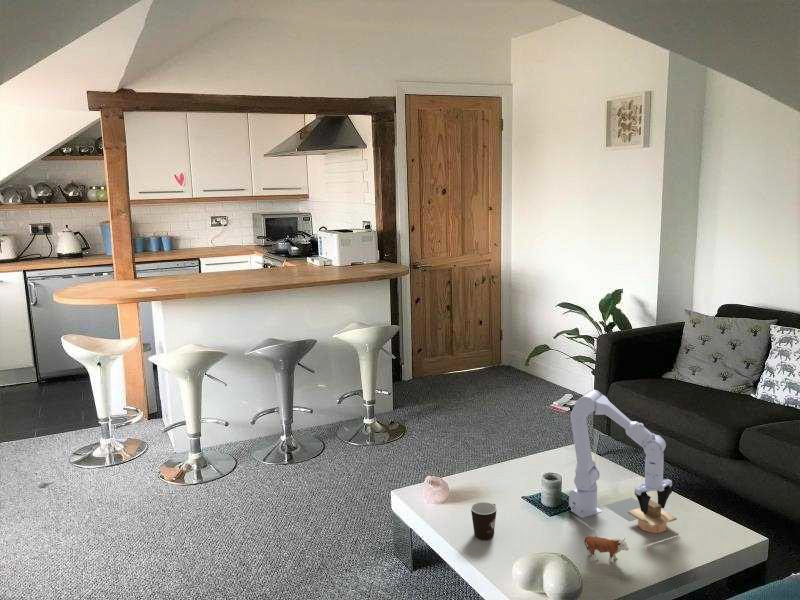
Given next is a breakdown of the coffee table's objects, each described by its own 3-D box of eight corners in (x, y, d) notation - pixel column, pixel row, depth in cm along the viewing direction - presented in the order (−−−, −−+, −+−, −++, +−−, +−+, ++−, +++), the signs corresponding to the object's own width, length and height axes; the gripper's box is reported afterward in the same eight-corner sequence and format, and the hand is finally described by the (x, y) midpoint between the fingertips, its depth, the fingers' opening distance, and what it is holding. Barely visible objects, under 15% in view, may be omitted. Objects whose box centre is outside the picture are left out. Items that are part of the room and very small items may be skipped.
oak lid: (651, 527, 222) (651, 514, 221) (627, 513, 232) (628, 500, 231) (676, 519, 226) (677, 506, 226) (652, 505, 236) (652, 493, 235)
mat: (629, 522, 233) (629, 521, 233) (603, 506, 245) (603, 505, 245) (657, 513, 238) (657, 512, 238) (631, 498, 250) (631, 497, 250)
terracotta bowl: (651, 536, 224) (652, 525, 223) (632, 524, 232) (632, 513, 231) (672, 530, 227) (672, 519, 227) (652, 518, 235) (652, 508, 235)
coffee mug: (480, 544, 222) (480, 516, 220) (466, 533, 230) (465, 506, 228) (509, 535, 227) (509, 507, 226) (494, 524, 235) (494, 497, 233)
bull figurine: (628, 567, 207) (628, 543, 205) (583, 559, 212) (583, 535, 211) (629, 560, 211) (630, 536, 209) (585, 552, 216) (585, 528, 215)
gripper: (646, 481, 220) (644, 519, 222) (679, 472, 225) (677, 509, 228) (630, 473, 226) (629, 510, 228) (663, 464, 232) (662, 501, 234)
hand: (652, 509), depth 228 cm, fingers open, 7 cm apart
